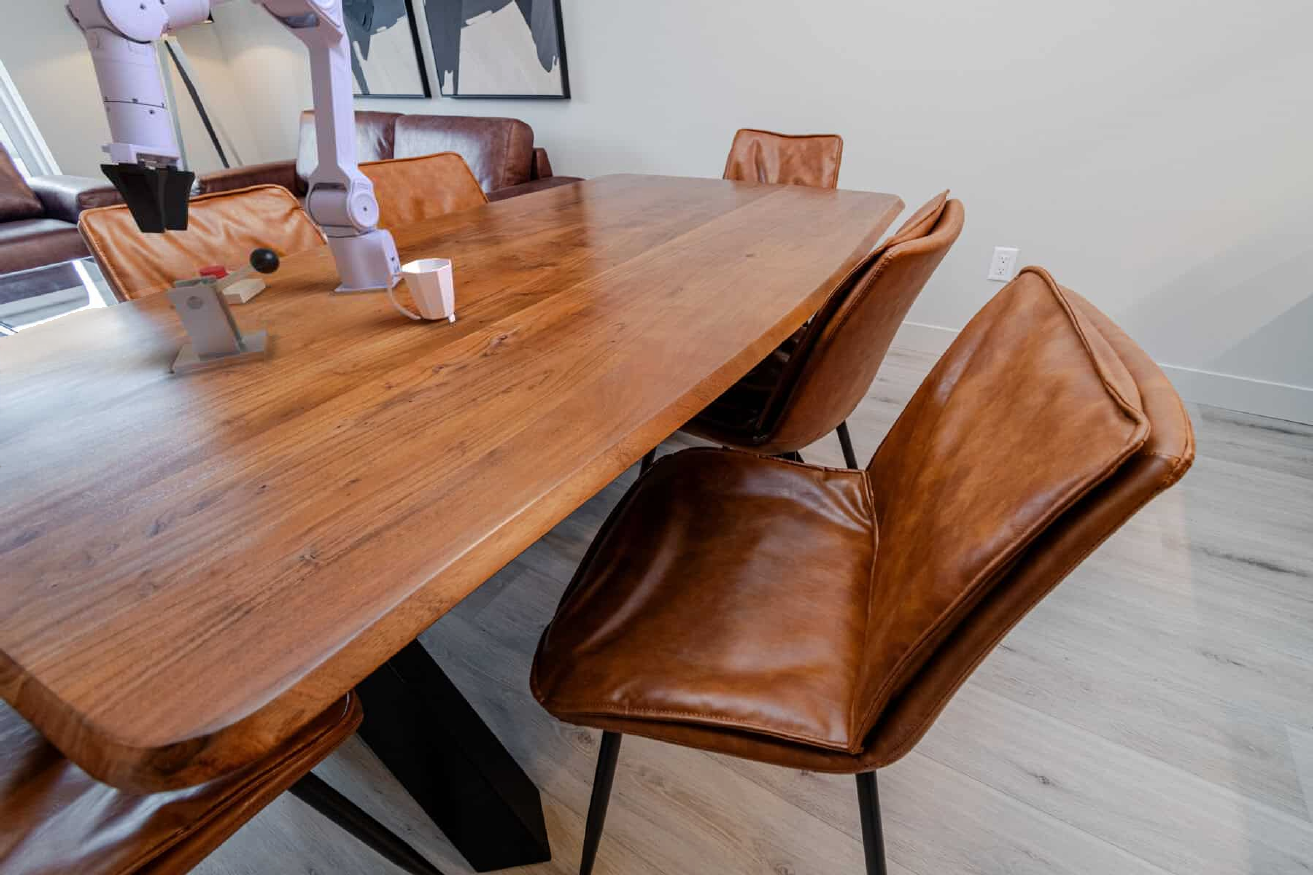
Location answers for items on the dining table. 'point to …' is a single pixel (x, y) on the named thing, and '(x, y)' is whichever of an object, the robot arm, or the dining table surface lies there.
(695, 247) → the dining table surface
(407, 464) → the dining table surface
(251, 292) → the control block
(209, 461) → the dining table surface
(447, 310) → the cup
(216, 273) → the button
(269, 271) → the lever
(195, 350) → the bracket
